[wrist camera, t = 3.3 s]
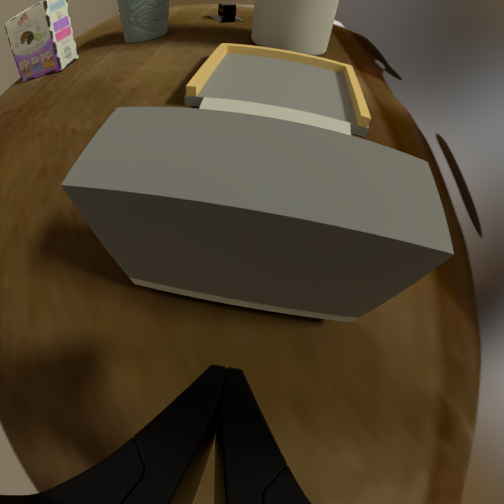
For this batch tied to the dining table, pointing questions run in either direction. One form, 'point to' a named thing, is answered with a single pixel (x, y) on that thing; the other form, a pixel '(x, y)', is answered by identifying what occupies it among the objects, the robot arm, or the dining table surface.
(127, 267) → the gray and cream l-shape
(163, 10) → the green embossed cup
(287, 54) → the loading dock
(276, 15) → the cylinder vase
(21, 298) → the dining table surface
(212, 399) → the robot arm
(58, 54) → the candy box
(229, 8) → the black block on plate
